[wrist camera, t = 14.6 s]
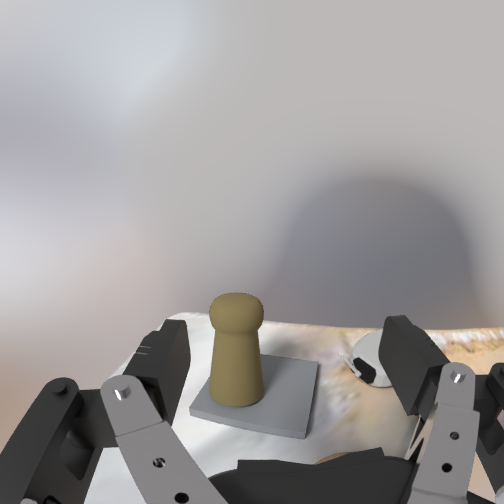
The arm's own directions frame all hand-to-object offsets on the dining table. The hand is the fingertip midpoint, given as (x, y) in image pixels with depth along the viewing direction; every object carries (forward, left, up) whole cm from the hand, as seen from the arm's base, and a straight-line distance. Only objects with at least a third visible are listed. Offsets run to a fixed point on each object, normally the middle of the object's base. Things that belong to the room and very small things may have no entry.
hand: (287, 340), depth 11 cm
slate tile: (+5, -15, -18) cm, 23 cm away
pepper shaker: (+7, -13, -16) cm, 22 cm away
